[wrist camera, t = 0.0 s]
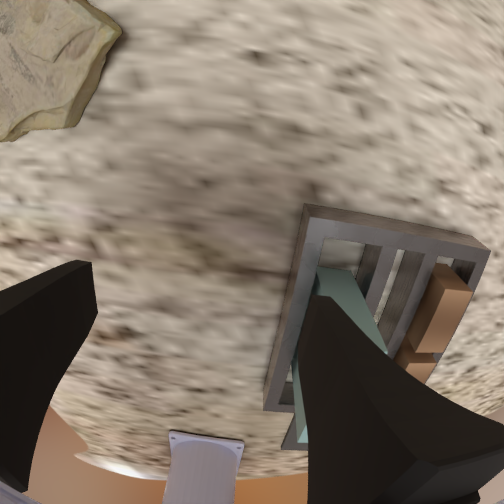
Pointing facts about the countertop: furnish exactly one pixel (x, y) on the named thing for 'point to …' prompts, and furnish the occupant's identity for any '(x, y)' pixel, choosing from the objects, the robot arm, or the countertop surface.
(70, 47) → the stone slab
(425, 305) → the walnut offcut
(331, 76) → the countertop surface
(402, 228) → the rack
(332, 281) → the teal panel
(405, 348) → the walnut offcut
